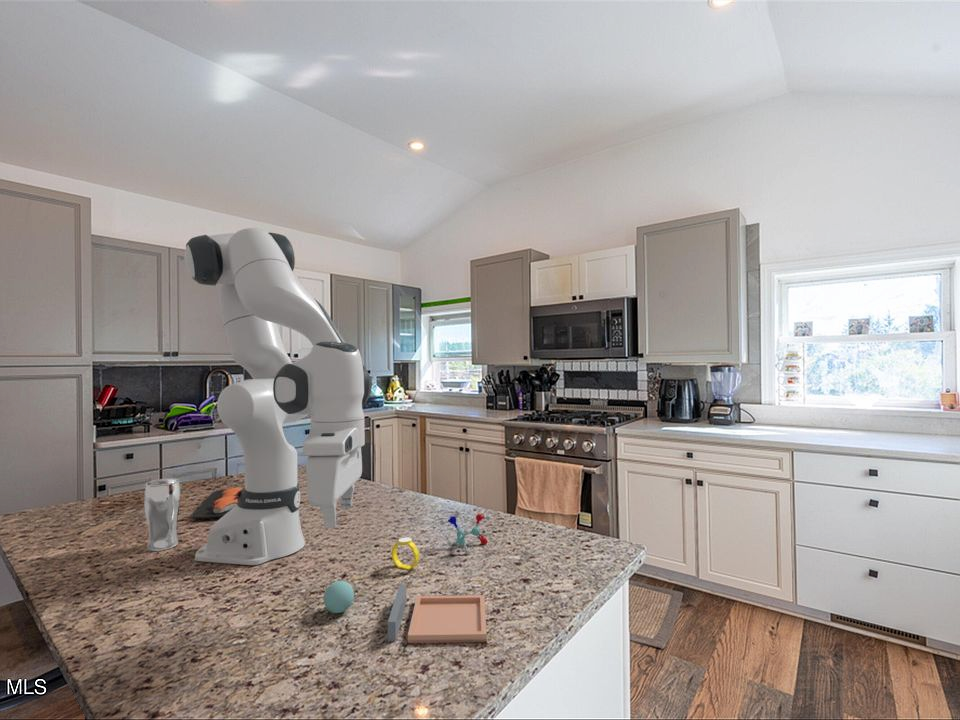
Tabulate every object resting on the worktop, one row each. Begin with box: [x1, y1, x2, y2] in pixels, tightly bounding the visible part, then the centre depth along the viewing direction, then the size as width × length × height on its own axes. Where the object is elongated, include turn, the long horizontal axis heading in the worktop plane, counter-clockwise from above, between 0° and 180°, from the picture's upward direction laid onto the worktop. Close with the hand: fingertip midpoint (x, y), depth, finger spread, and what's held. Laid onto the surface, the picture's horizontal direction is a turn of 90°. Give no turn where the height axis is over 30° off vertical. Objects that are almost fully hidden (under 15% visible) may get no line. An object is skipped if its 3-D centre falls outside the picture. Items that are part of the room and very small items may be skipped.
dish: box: [407, 594, 488, 644], centre depth 78 cm, size 12×12×1 cm
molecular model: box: [439, 509, 492, 555], centre depth 110 cm, size 12×10×10 cm
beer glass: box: [143, 477, 181, 552], centre depth 110 cm, size 7×7×15 cm
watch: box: [391, 536, 420, 571], centre depth 99 cm, size 6×3×6 cm, turn 65°
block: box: [387, 584, 407, 643], centre depth 79 cm, size 1×12×3 cm, turn 1°
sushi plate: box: [192, 487, 305, 520], centre depth 145 cm, size 29×30×4 cm
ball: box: [323, 580, 355, 614], centre depth 81 cm, size 5×5×5 cm
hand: (339, 517), depth 81 cm, fingers open, 8 cm apart
